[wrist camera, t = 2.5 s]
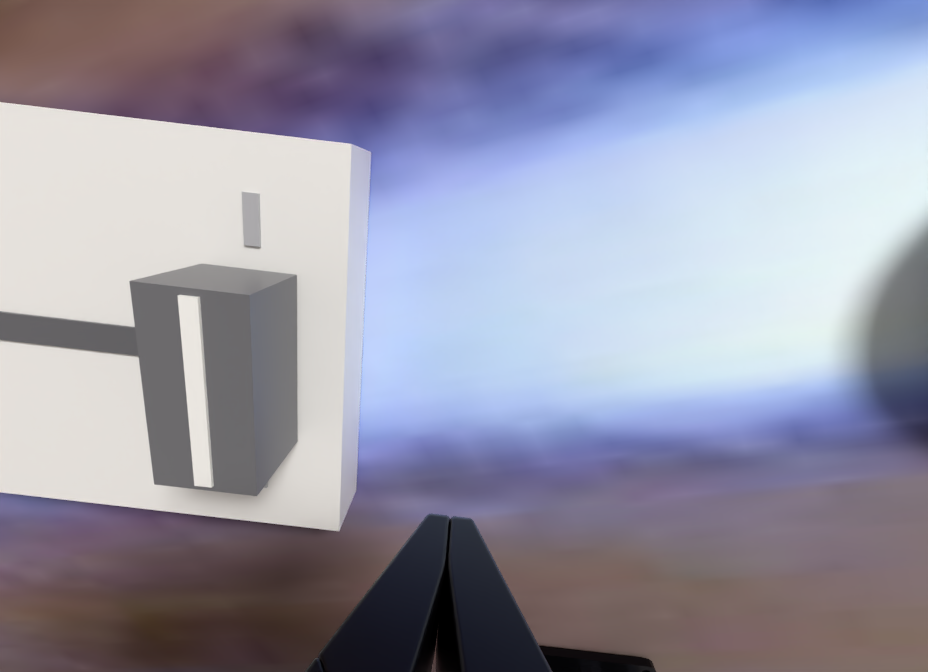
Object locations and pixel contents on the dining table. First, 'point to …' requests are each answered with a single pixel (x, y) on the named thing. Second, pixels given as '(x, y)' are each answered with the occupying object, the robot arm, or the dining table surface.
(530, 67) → the dining table surface
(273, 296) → the fader
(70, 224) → the console
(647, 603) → the dining table surface
